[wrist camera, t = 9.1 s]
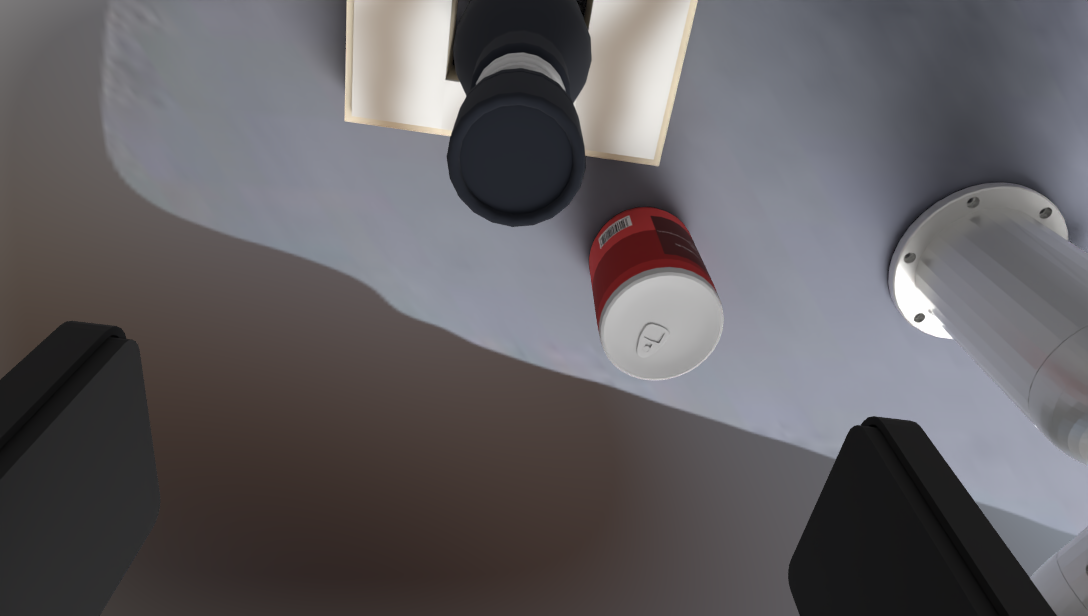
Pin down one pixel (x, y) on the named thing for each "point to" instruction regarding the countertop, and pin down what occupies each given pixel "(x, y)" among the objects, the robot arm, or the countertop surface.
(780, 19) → the countertop surface
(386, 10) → the holder block
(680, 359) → the canned food
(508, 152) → the black water bottle
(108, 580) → the robot arm
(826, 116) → the countertop surface
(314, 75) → the countertop surface
